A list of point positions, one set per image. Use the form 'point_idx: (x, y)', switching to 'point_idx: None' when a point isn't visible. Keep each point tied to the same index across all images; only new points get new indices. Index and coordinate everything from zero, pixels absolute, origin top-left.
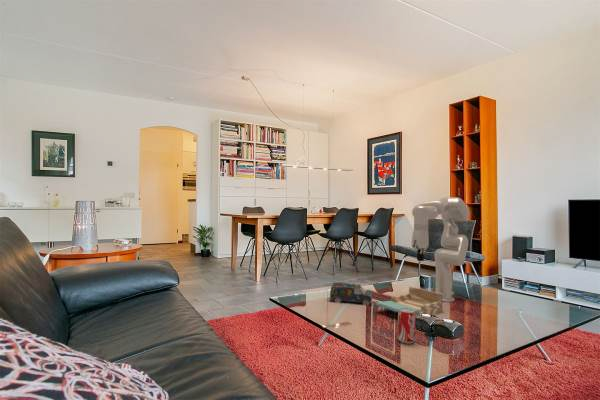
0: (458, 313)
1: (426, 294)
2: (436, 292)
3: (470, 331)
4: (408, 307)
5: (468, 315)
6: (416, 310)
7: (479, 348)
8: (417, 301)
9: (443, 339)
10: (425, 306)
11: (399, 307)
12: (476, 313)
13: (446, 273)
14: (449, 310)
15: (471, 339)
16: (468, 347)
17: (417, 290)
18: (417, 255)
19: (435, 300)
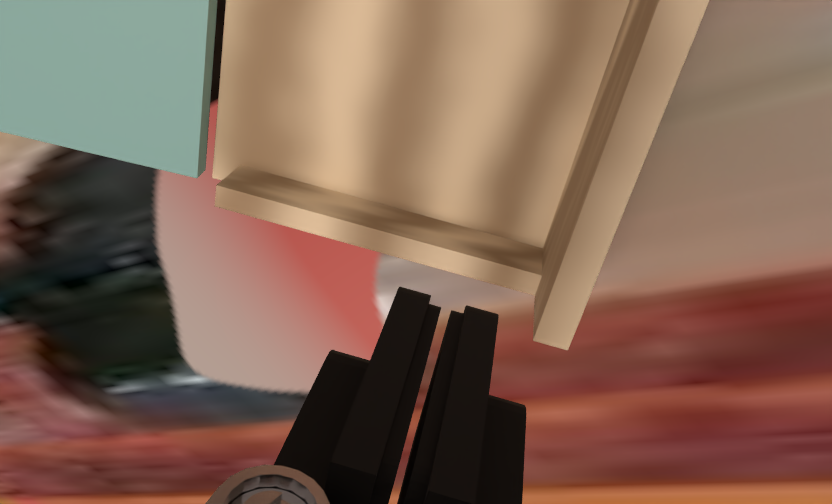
0: (625, 358)
1: (595, 147)
2: (588, 285)
3: (260, 453)
4: (157, 69)
5: (619, 421)
6: (138, 163)
7: (63, 495)
8: (599, 5)
9: (11, 360)
10: (258, 215)
11: (48, 9)
12: (726, 461)
13: None
14: (675, 287)
15: (141, 464)
16: (29, 460)
17: (650, 10)
18: (356, 403)
19: (553, 240)
